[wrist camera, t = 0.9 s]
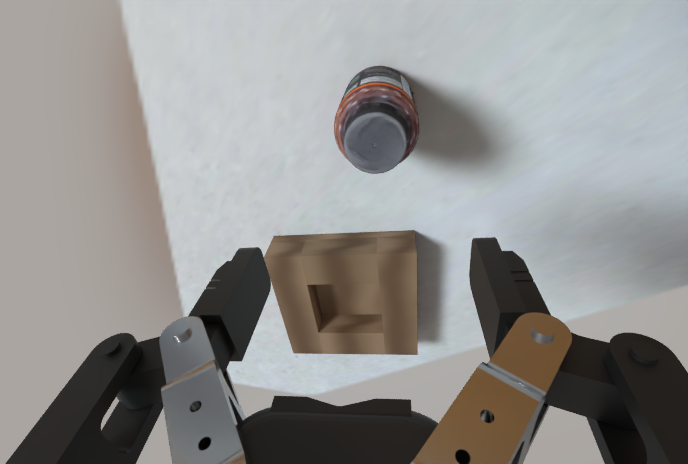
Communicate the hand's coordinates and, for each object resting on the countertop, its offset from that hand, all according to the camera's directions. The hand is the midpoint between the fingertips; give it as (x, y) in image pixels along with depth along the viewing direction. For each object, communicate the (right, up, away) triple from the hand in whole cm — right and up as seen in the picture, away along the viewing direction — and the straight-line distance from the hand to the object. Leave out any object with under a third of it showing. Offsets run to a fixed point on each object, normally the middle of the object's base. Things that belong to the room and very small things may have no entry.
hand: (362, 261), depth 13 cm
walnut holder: (0, -6, +31) cm, 31 cm away
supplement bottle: (+2, +13, +18) cm, 22 cm away
